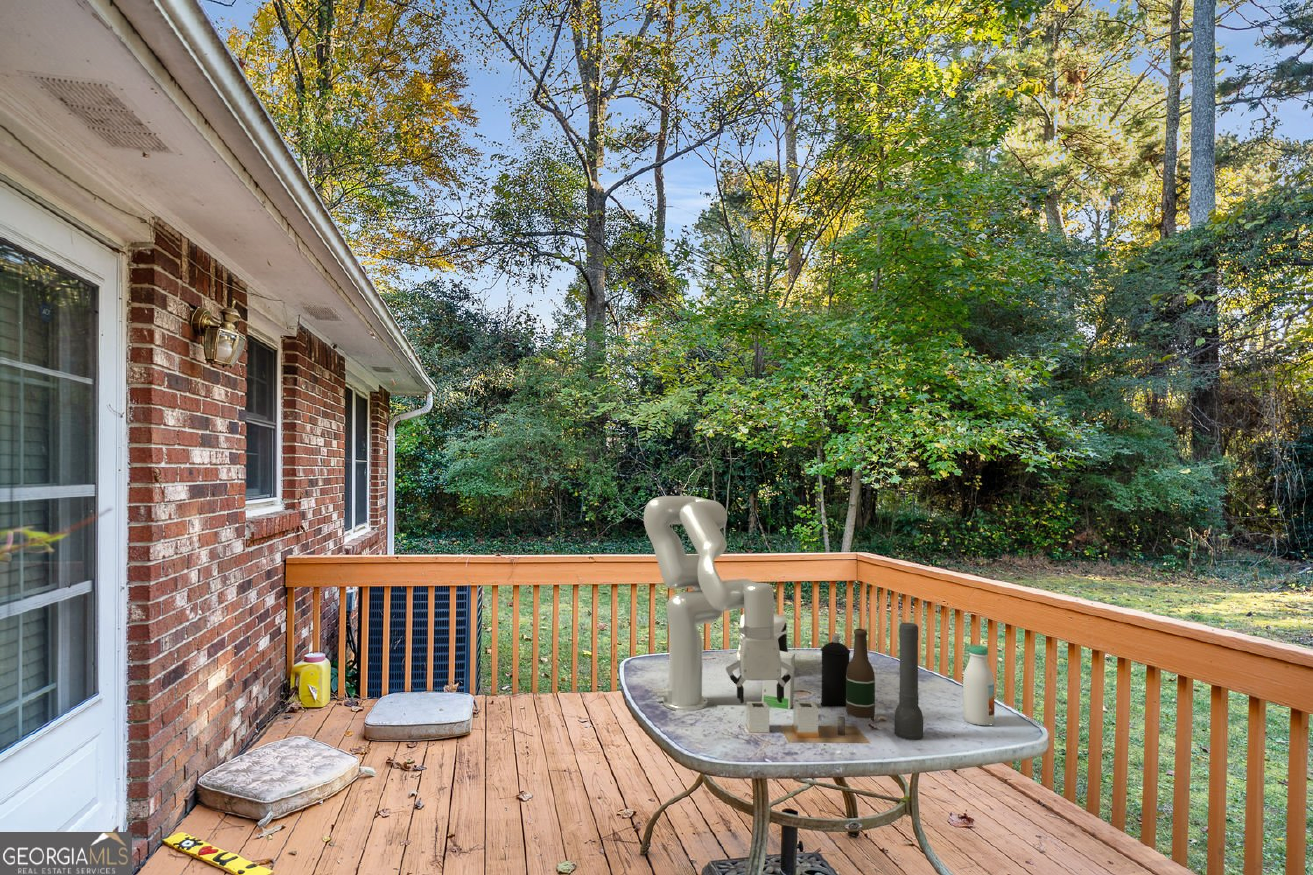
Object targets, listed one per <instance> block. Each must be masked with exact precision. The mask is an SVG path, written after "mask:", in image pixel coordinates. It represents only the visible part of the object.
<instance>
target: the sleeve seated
mask: <svg viewBox="0 0 1313 875" xmlns="http://www.w3.org/2000/svg"><path fill="white" fill-rule="evenodd" d="M792 716H793V724H792V725H793V731H794V733H795V735H796V736H797V738H819V733H818V726H819V707H818V706H817V705H816V704H815V702H814V701H793V715H792Z"/></svg>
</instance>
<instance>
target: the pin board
mask: <svg viewBox="0 0 1313 875" xmlns="http://www.w3.org/2000/svg"><path fill="white" fill-rule="evenodd" d="M779 728H780V730H781V732H782V734H783V736H784V738H785V739H786V741H787V743H789V744H790V743H792V744H793V743H794V744H795V743H796V744H797V743H799V744H800V743H801V744H802V743H804V744H806V743H807V744H813V743H814V744H871V742H870V740H869V739H868V738H867V737H866V736H865V735H864V733H863V732H862V731H861V730H860V728H859V727H858V726H857V725H846V717H844V716H838V717H837V725H818V733H819V738H797V736H796V735H795V733H794V731H793V724H792V725H788V724H787V725H785V724H784V725H782V724H781V725H779Z"/></svg>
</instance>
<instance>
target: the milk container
mask: <svg viewBox="0 0 1313 875" xmlns="http://www.w3.org/2000/svg"><path fill="white" fill-rule="evenodd" d="M739 621H740V622H739V628H743V627H744V613H743V614H742V615H740V620H739ZM787 625H788V624H787V618H786V616H785V615H781V614H777V613H774V637H776V638H777V639H778V643H779V649H780V651H784V652H789V649H788V644H787V640H788V629H787ZM742 637H745V635H744V634H742V633H740V634H739V644H738V648H737V652H736V660H737V661H739V660H740V649H741V641H742ZM737 661H736V662H737Z"/></svg>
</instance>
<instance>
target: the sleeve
mask: <svg viewBox="0 0 1313 875" xmlns="http://www.w3.org/2000/svg"><path fill="white" fill-rule="evenodd" d="M745 706H746V707H745V708H746V711H745V712H746V713H745V714H746V720H745V721H746V724H745V726H746V729H747V732H748V733H749V734H771V732H770V707H768V705H767V703H766V702H762V701H746V705H745Z"/></svg>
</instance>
